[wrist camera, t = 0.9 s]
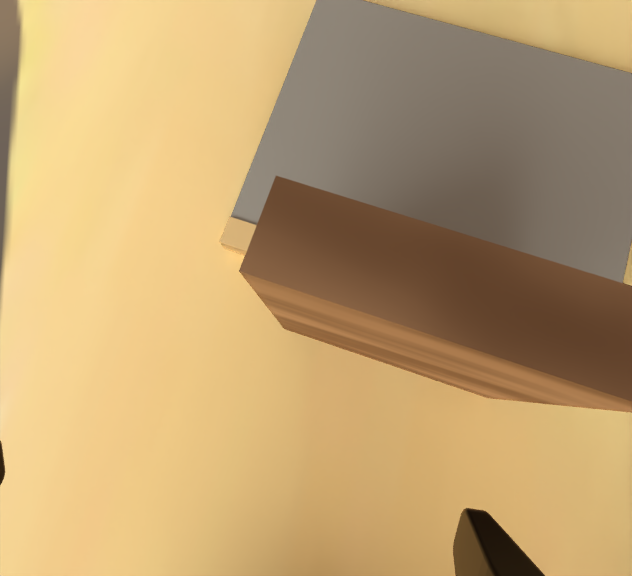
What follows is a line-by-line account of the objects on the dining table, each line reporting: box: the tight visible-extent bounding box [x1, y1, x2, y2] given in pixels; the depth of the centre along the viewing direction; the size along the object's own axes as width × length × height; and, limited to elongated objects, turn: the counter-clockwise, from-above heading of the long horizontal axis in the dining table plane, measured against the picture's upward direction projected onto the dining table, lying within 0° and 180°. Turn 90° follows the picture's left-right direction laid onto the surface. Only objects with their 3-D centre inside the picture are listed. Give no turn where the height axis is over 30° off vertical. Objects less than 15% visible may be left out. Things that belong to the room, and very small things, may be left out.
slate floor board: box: [220, 0, 632, 283], centre depth 27 cm, size 18×22×1 cm
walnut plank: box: [239, 176, 632, 412], centre depth 19 cm, size 3×12×14 cm, turn 71°
